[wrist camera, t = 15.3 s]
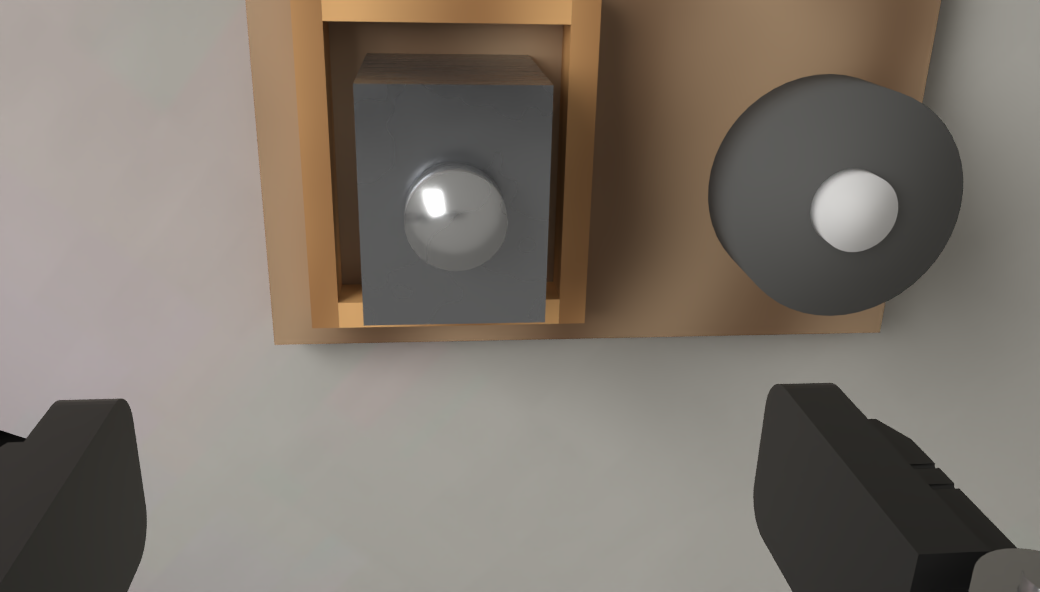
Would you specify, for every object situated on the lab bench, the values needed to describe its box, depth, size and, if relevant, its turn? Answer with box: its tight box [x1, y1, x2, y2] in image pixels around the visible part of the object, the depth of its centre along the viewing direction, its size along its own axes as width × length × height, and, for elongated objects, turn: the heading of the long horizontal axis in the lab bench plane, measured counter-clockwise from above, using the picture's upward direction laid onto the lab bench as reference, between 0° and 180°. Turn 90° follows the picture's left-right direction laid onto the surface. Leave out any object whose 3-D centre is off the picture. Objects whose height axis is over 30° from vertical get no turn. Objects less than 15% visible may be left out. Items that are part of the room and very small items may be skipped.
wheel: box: [708, 74, 963, 316], centre depth 24 cm, size 6×6×3 cm
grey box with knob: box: [353, 53, 554, 326], centre depth 24 cm, size 5×6×6 cm
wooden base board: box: [246, 0, 941, 345], centre depth 27 cm, size 20×12×4 cm, turn 89°
